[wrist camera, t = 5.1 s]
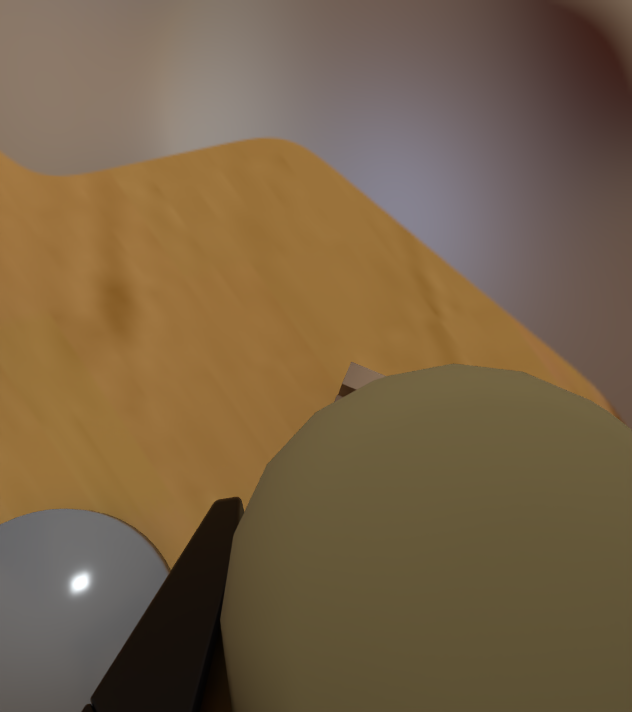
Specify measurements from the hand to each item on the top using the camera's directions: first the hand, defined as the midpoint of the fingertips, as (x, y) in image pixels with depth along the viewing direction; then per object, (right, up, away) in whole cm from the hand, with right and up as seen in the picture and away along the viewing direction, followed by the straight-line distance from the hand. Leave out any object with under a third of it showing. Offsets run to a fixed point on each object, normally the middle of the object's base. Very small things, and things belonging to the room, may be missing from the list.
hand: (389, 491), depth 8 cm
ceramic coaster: (-11, -9, +10) cm, 18 cm away
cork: (0, -4, +6) cm, 7 cm away
